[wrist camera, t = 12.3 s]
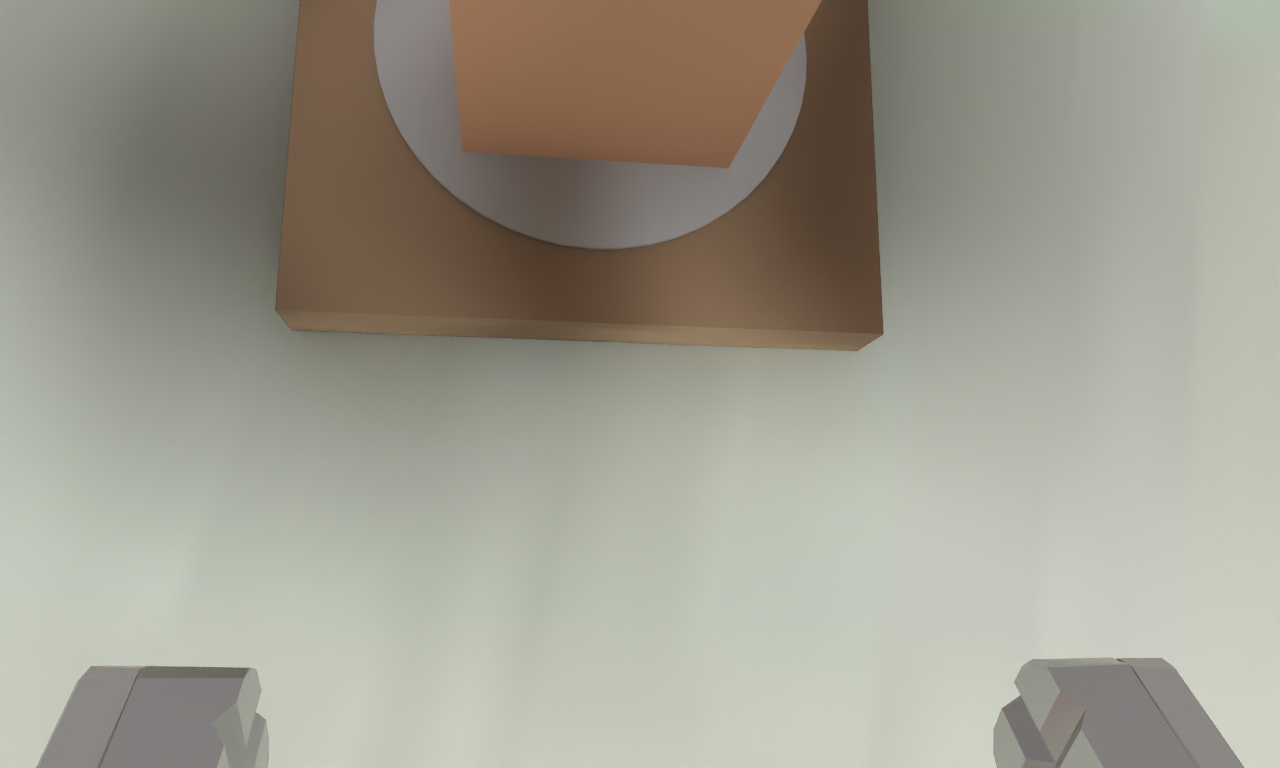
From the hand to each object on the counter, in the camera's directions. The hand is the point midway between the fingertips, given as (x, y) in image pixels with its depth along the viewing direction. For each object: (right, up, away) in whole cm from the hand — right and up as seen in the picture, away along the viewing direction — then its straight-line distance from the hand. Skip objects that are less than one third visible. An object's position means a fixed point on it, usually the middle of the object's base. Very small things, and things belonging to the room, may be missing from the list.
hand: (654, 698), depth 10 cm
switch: (-1, +10, +11) cm, 15 cm away
